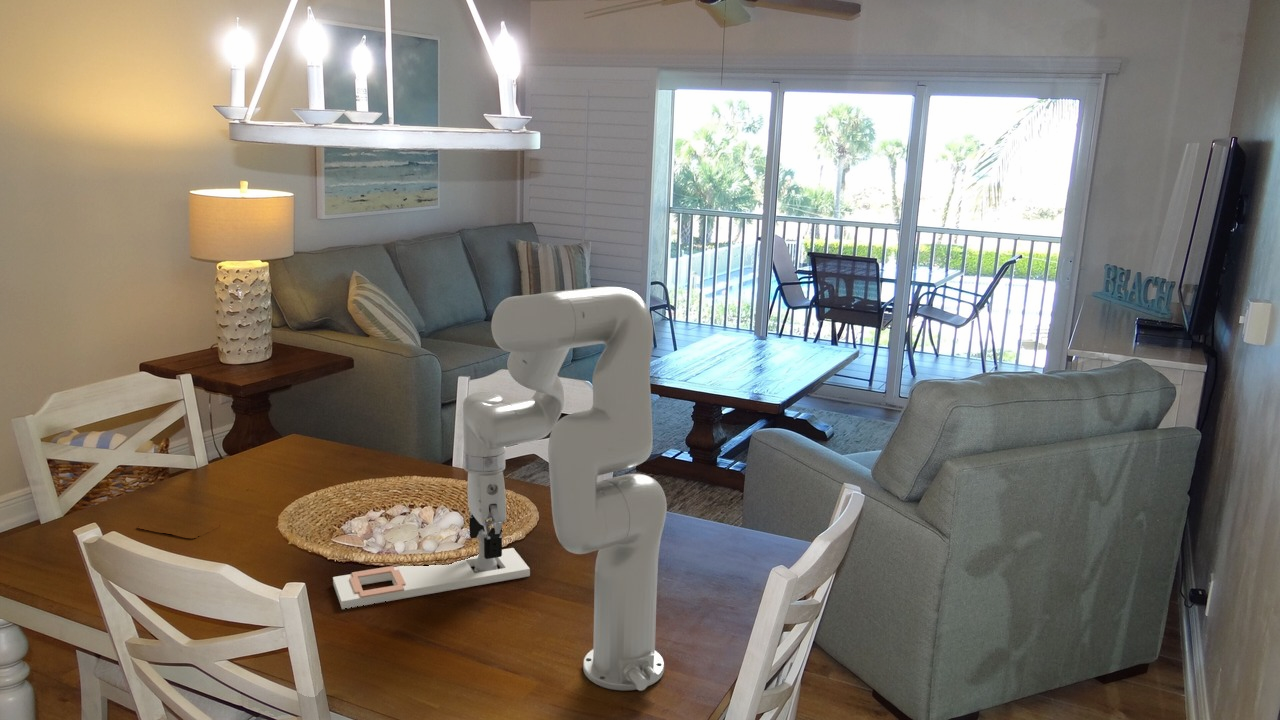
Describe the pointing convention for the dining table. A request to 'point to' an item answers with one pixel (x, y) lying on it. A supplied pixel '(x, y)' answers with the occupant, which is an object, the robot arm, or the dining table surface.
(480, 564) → the rook chess piece
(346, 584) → the white board with slots
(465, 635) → the dining table surface
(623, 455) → the robot arm
